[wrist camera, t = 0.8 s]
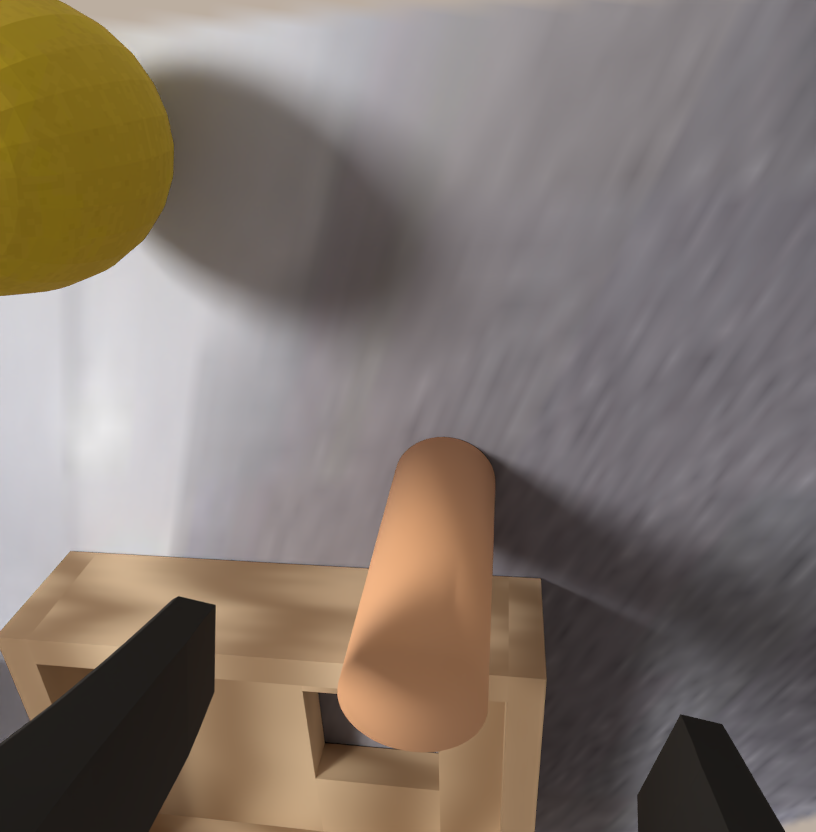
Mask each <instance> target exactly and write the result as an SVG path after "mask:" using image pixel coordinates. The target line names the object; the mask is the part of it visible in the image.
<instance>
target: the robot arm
mask: <svg viewBox="0 0 816 832" xmlns="http://www.w3.org/2000/svg"><path fill="white" fill-rule="evenodd" d="M215 626H216V605H214V604H210V603H206V602H202V601H197V600H193V599H189V598H185V597H180V596H178V597H176V598H174V599H172V600H171V601H170V602H169V603H168V604H167V605H166V606H165V607H163V608H162V609H161V610H160V611H159V612H158V613H157V614H156V615H155V616H154V617H153V618H152V619H150V620H149V621H148V622H147V623H146V624H145V625H144V626H143V627H142V628H141V629H139V630H138V631H137V632H136V633H135V634H134V635H133V636H132V637H131V638H129V639H128V640H127V641H126V642H125V643H124V644H123V645H122V646H120V647H119V648H118V649H117V650H116V651H115V652H114V653H112V654H111V655H110V656H109V657H108V658H107V659H105V660H104V661H103V662H102V663H101V664H100V665H98V666H97V667H96V668H95V669H94V670H92V671H91V672H90V673H89V674H88V675H86V676H85V677H84V678H83V679H82V680H80V681H79V682H78V683H77V684H76V685H74V686H73V687H72V688H71V689H70V690H68V691H67V692H66V693H65V694H64V695H62V696H61V697H60V698H59V699H58V700H56V701H55V702H54V703H53V704H51V705H50V706H49V707H48V708H46V709H45V710H44V711H42V712H41V713H40V714H38V715H37V716H36V717H35V718H33V719H32V720H31V721H29V722H28V723H27V724H25V725H24V726H23V727H21V728H20V729H19V730H17V731H16V732H15V733H14V734H12V735H11V736H10V737H8V738H7V739H6V740H4V741H3V742H2V743H0V832H149V830H150V828H151V826H152V825H153V823H154V821H155V819H156V817H157V815H158V813H159V811H160V810H161V808H162V806H163V804H164V802H165V800H166V798H167V796H168V794H169V793H170V791H171V789H172V787H173V785H174V783H175V781H176V779H177V777H178V776H179V774H180V772H181V770H182V768H183V766H184V764H185V762H186V760H187V758H188V756H189V754H190V751H191V749H192V747H193V744H194V742H195V739H196V737H197V735H198V732H199V730H200V727H201V725H202V722H203V720H204V717H205V715H206V712H207V710H208V707H209V705H210V702H211V700H212V697H213V695H214V692H215ZM637 800H638V832H785V830H784V829H783V827H782V825H781V824H780V822H779V820H778V819H777V817H776V815H775V814H774V812H773V810H772V808H771V807H770V805H769V803H768V802H767V800H766V798H765V797H764V795H763V793H762V791H761V790H760V788H759V786H758V785H757V783H756V781H755V779H754V778H753V776H752V774H751V773H750V771H749V769H748V767H747V766H746V764H745V762H744V760H743V759H742V757H741V755H740V754H739V752H738V750H737V748H736V747H735V745H734V743H733V742H732V740H731V738H730V736H729V735H728V733H727V731H726V730H725V728H724V727H723V725H722V724H719V723H715V722H710V721H706V720H702V719H698V718H694V717H689V716H685V715H680V716H679V718H678V720H677V722H676V724H675V726H674V728H673V730H672V731H671V733H670V735H669V737H668V739H667V741H666V743H665V745H664V746H663V748H662V750H661V752H660V754H659V756H658V758H657V760H656V761H655V763H654V765H653V767H652V769H651V771H650V773H649V775H648V776H647V778H646V780H645V782H644V784H643V786H642V788H641V790H640V791H639V793H638V795H637Z"/></svg>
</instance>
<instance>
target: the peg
mask: <svg viewBox="0 0 816 832" xmlns="http://www.w3.org/2000/svg"><path fill="white" fill-rule="evenodd" d="M494 511H495V474H494V471H493V468H492V465H491V464H490V462H489V460H488V459H487V458H486V456H485V455H484V454H483V453H482V452H481V451H480V450H478V449H477V448H476V447H474V446H473V445H471V444H469V443H467V442H465V441H462V440H459V439H455V438H449V437H436V438H430V439H426V440H423V441H420V442H418V443H416V444H415V445H413V446H412V447H410V448H409V449H408V450H407V451H406V452H405V453H404V454H403V455H402V457H401V458H400V460H399V462H398V464H397V467H396V470H395V474H394V478H393V481H392V485H391V489H390V493H389V496H388V500H387V504H386V507H385V511H384V515H383V519H382V522H381V526H380V530H379V533H378V537H377V541H376V544H375V548H374V552H373V556H372V559H371V563H370V567H369V570H368V574H367V578H366V582H365V585H364V589H363V593H362V596H361V600H360V604H359V608H358V611H357V615H356V619H355V622H354V626H353V630H352V633H351V637H350V641H349V645H348V648H347V652H346V656H345V659H344V663H343V667H342V671H341V674H340V678H339V682H338V687H337V696H338V701H339V704H340V707H341V709H342V711H343V713H344V714H345V716H346V717H347V719H348V720H349V721H350V722H351V724H352V725H353V726H354V727H355V728H357V729H358V730H359V731H360V732H362V733H363V734H364V735H366V736H367V737H369V738H371V739H373V740H374V741H376V742H378V743H381V744H383V745H386V746H388V747H392V748H395V749H399V750H404V751H410V752H437V751H443V750H447V749H451V748H454V747H457V746H459V745H461V744H463V743H465V742H467V741H468V740H470V739H471V738H472V737H474V736H475V735H476V734H477V733H478V732H479V730H480V729H481V728H482V726H483V724H484V723H485V720H486V717H487V713H488V695H489V665H490V634H491V603H492V573H493V542H494Z"/></svg>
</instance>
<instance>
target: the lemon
mask: <svg viewBox="0 0 816 832" xmlns="http://www.w3.org/2000/svg"><path fill="white" fill-rule="evenodd" d="M173 164H174V143H173V138H172V134H171V129H170V124H169V119H168V115H167V112H166V110H165V108H164V105H163V103H162V101H161V99H160V96H159V94H158V92H157V89H156V87H155V85H154V83H153V82H152V80H151V79H150V78H149V76H148V75H147V73H146V72H145V70H144V69H143V67H142V66H141V65H140V63H139V62H138V60H137V59H136V57H135V56H134V55H133V54H132V53H131V52H130V51H129V50H128V49H127V48H126V47H125V46H124V45H123V44H122V43H121V42H120V41H119V40H117V39H116V38H115V37H114V36H113V35H112V34H111V33H110V32H109V31H108V30H107V29H106V28H105V27H103V26H102V25H100V24H99V23H97V22H96V21H94V20H92V19H91V18H89V17H87V16H85V15H84V14H82V13H80V12H79V11H77V10H75V9H73V8H72V7H70V6H69V5H67V4H65V3H63V2H61V1H59V0H0V296H6V295H16V294H27V293H36V292H45V291H51V290H56V289H60V288H63V287H66V286H70V285H72V284H74V283H77V282H79V281H82V280H84V279H87V278H89V277H91V276H94V275H96V274H99V273H101V272H103V271H105V270H107V269H109V268H110V267H112V266H114V265H115V264H116V263H117V262H119V261H120V260H121V259H122V258H123V257H124V256H126V255H127V254H128V253H129V252H130V251H131V250H133V249H134V248H135V247H136V246H137V245H138V244H140V243H141V242H142V241H143V240H144V239H145V237H146V236H147V235H148V233H149V232H150V230H151V228H152V227H153V225H154V223H155V222H156V220H157V219H158V217H159V215H160V214H161V212H162V210H163V208H164V207H165V204H166V200H167V196H168V193H169V189H170V186H171V182H172V179H173Z"/></svg>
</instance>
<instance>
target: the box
mask: <svg viewBox="0 0 816 832" xmlns="http://www.w3.org/2000/svg"><path fill="white" fill-rule="evenodd" d="M368 570H369V569H366V568H349V567H332V566H314V565H297V564H280V563H263V562H246V561H228V560H211V559H194V558H177V557H159V556H142V555H125V554H108V553H90V552H73V551H70V552H69V553H68V554H67V556H66V557H65V558H64V559H63V560H62V561H61V563H60V564H59V565H58V566H57V567H56V568H55V569H54V571H53V572H52V573H51V574H50V575H49V576H48V577H47V579H46V580H45V581H44V582H43V583H42V584H41V585H40V587H39V588H38V589H37V590H36V591H35V592H34V593H33V595H32V596H31V597H30V598H29V599H28V600H27V601H26V603H25V604H24V605H23V606H22V607H21V608H20V609H19V611H18V612H17V613H16V614H15V615H14V616H13V617H12V619H11V620H10V621H9V622H8V623H7V624H6V625H5V627H4V628H3V629H2V630H1V631H0V650H1V652H2V654H3V657H4V659H5V662H6V664H7V666H8V669H9V671H10V674H11V676H12V678H13V681H14V683H15V686H16V688H17V690H18V693H19V695H20V698H21V700H22V702H23V705H24V707H25V709H26V712H27V714H28V717H29V719H30V721H31V720H32V719H33V718H35V717H36V716H37V715H38V714H40V713H41V712H42V711H44V710H45V709H46V708H48V707H49V706H50V705H51V704H53V703H54V702H55V701H56V700H58V699H59V698H60V697H61V696H62V695H64V694H65V693H66V692H67V691H68V690H70V689H71V688H72V687H73V686H74V685H76V684H77V683H78V682H79V681H80V680H82V679H83V678H84V677H85V676H86V675H88V674H89V673H90V672H91V671H92V670H94V669H95V668H96V667H97V666H98V665H100V664H101V663H102V662H103V661H104V660H105V659H107V658H108V657H109V656H110V655H111V654H112V653H114V652H115V651H116V650H117V649H118V648H119V647H120V646H122V645H123V644H124V643H125V642H126V641H127V640H128V639H129V638H131V637H132V636H133V635H134V634H135V633H136V632H137V631H138V630H139V629H141V628H142V627H143V626H144V625H145V624H146V623H147V622H148V621H149V620H150V619H152V618H153V617H154V616H155V615H156V614H157V613H158V612H159V611H160V610H161V609H162V608H163V607H165V606H166V605H167V604H168V603H169V602H170V601H171V600H172V599H174V598H176V597H178V596H180V597H185V598H189V599H193V600H197V601H202V602H206V603H210V604H214V605H216V626H215V692H214V695H213V697H212V700H211V702H210V705H209V707H208V710H207V712H206V715H205V717H204V720H203V722H202V725H201V727H200V730H199V732H198V735H197V737H196V739H195V742H194V744H193V747H192V749H191V751H190V754H189V756H188V758H187V760H186V762H185V764H184V766H183V768H182V770H181V772H180V774H179V776H178V777H177V779H176V781H175V783H174V785H173V787H172V789H171V791H170V793H169V794H168V796H167V798H166V800H165V802H164V804H163V806H162V808H161V810H160V811H159V813H158V815H157V817H156V819H155V821H154V823H153V825H152V826H151V828H150V830H149V832H534V831H535V818H536V806H537V793H538V781H539V768H540V756H541V743H542V730H543V718H544V705H545V693H546V680H547V678H546V661H545V643H544V626H543V608H542V591H541V579H539V578H521V577H504V576H492V603H491V634H490V665H489V695H488V713H487V717H486V720H485V723H484V724H483V726H482V728H481V729H480V730H479V732H478V733H477V734H476V735H475V736H474V737H472V738H471V739H470V740H468V741H467V742H465V743H463V744H461V745H459V746H457V747H454V748H451V749H447V750H443V751H439V753H428V752H410V751H404V750H395V749H384V748H373V747H363V746H352V745H341V744H330V743H325V740H324V733H323V726H322V718H321V711H320V703H319V696H318V692H321V693H333V694H337V687H338V682H339V678H340V674H341V671H342V667H343V663H344V659H345V656H346V652H347V648H348V645H349V641H350V637H351V633H352V630H353V626H354V622H355V619H356V615H357V611H358V608H359V604H360V600H361V596H362V593H363V589H364V585H365V582H366V578H367V574H368Z"/></svg>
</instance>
